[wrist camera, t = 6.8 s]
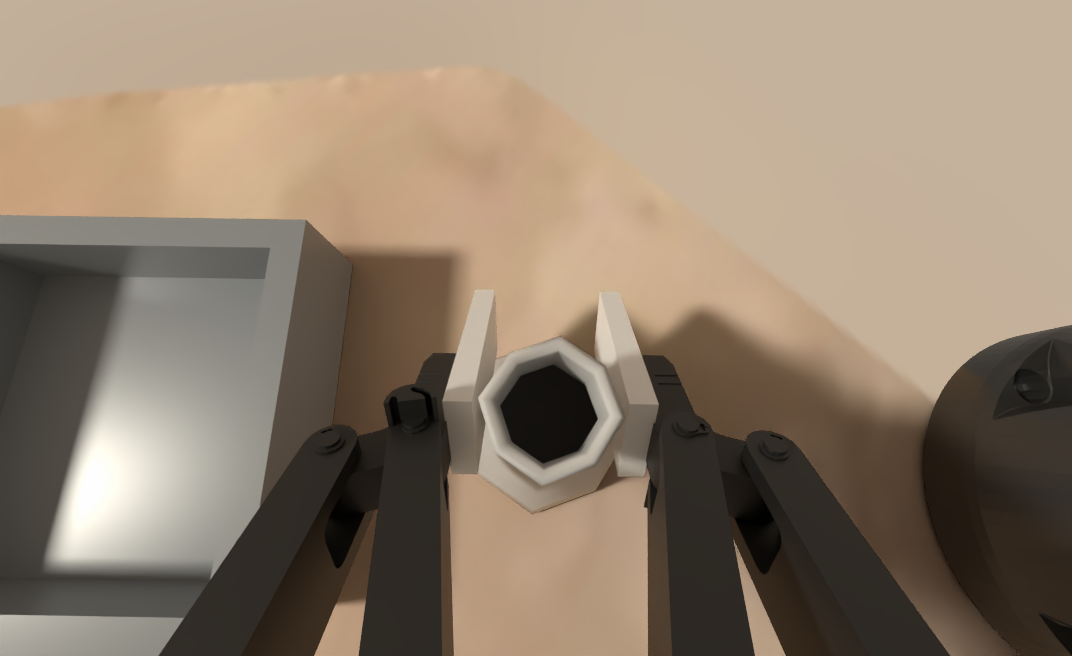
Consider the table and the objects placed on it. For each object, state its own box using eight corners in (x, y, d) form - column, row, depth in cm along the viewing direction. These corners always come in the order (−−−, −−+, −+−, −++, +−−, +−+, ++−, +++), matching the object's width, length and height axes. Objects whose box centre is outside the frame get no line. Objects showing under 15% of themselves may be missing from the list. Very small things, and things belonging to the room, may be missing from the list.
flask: (556, 314, 21) (575, 206, 11) (656, 437, 19) (779, 437, 10) (431, 407, 20) (330, 378, 10) (528, 545, 18) (520, 668, 9)
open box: (352, 264, 21) (305, 219, 17) (308, 607, 18) (234, 663, 13) (49, 259, 21) (-76, 214, 17) (-58, 600, 18) (-252, 654, 13)
